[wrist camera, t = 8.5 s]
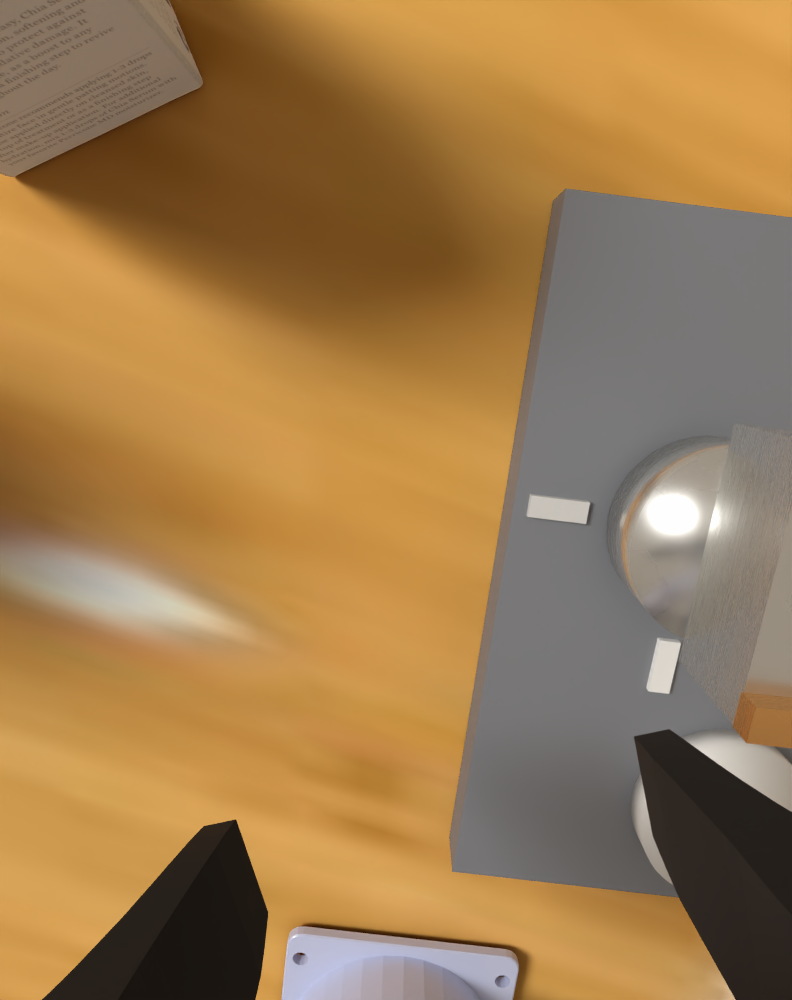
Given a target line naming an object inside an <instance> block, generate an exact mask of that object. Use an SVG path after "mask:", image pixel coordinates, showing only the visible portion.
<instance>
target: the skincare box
mask: <svg viewBox="0 0 792 1000" xmlns="http://www.w3.org/2000/svg"><path fill="white" fill-rule="evenodd" d="M202 85H203V80H202V77H201V75H200V73H199V70H198V68H197V66H196V63H195V61H194V59H193V56H192V54H191V52H190V49H189V47H188V44H187V42H186V39H185V37H184V34H183V32H182V30H181V27H180V25H179V22H178V20H177V17H176V15H175V12H174V10H173V8H172V6H171V3H170V1H169V0H0V173H1V174H3V175H5V176H10V177H15V176H17V175H19V174H21V173H23V172H25V171H27V170H29V169H31V168H33V167H35V166H37V165H39V164H41V163H43V162H46V161H48V160H50V159H52V158H54V157H56V156H58V155H60V154H62V153H64V152H66V151H68V150H70V149H73V148H75V147H77V146H79V145H81V144H83V143H85V142H87V141H89V140H91V139H93V138H96V137H98V136H100V135H102V134H104V133H106V132H108V131H110V130H112V129H114V128H116V127H118V126H120V125H122V124H124V123H126V122H128V121H131V120H133V119H135V118H137V117H139V116H141V115H143V114H145V113H147V112H149V111H151V110H153V109H156V108H158V107H160V106H162V105H164V104H166V103H168V102H170V101H172V100H174V99H176V98H178V97H181V96H183V95H185V94H187V93H189V92H191V91H194V90H196V89H198V88H200V87H201V86H202Z"/></svg>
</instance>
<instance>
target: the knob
mask: <svg viewBox="0 0 792 1000" xmlns="http://www.w3.org/2000/svg"><path fill="white" fill-rule="evenodd" d="M606 544H607V551H608V554H609V558H610V561H611V564H612V566H613V568H614V570H615V572H616V574H617V575H618V577H619V578H620V580H621V582H622V583H623V584H624V585H625V586H626V587H627V588H628V590H629V591H630V592H631V593H632V594H633V595H634V596H635V598H636V599H637V600H638V601H639V602H640V603H641V604H642V605H643V607H644V608H645V609H646V610H647V611H648V612H649V613H650V614H651V616H652V617H653V618H654V619H655V620H656V621H657V622H659V623H660V624H661V625H662V626H663V627H665V628H666V629H668V630H669V631H671V632H672V633H674V634H676V635H678V636H680V637H682V638H684V639H683V643H682V648H681V652H680V656H679V661H680V663H681V664H682V665H683V666H684V667H685V668H686V670H687V671H688V672H689V673H690V674H691V676H692V677H693V678H694V679H695V680H696V681H697V683H698V684H699V685H700V686H701V687H702V689H703V690H704V691H705V692H706V693H707V695H708V696H709V697H710V698H711V699H712V700H713V702H714V703H715V704H716V705H717V706H718V708H719V709H720V710H721V711H722V712H723V713H724V715H725V716H726V717H727V718H728V719H729V721H730V722H731V723H732V724H733V726H732V727H733V728H734V729H735V730H736V731H737V733H738V734H739V735H740V736H741V737H742V738H743V740H744V741H745V742H746V743H749V744H758V745H766V746H775V747H784V748H792V430H786V429H778V428H770V427H761V426H753V425H745V424H737V423H734V426H733V430H732V435H731V438H727V437H722V436H708V435H707V436H695V437H690V438H685V439H681V440H678V441H675V442H672V443H669V444H667V445H665V446H663V447H661V448H659V449H657V450H656V451H654V452H652V453H651V454H649V455H648V456H647V457H645V458H644V459H643V460H642V461H640V462H639V463H638V464H637V465H636V466H635V467H634V468H633V469H632V470H631V471H630V472H629V473H628V475H627V476H626V477H625V479H624V480H623V481H622V483H621V484H620V486H619V488H618V490H617V491H616V493H615V495H614V498H613V500H612V503H611V505H610V509H609V513H608V516H607V524H606Z"/></svg>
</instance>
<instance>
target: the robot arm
mask: <svg viewBox="0 0 792 1000" xmlns="http://www.w3.org/2000/svg"><path fill="white" fill-rule="evenodd" d="M634 741H635V746H636V751H637V756H638V762H639V767H640V772H641V777H642V783H643V788H644V793H645V798H646V804H647V809H648V814H649V819H650V825H651V830H652V835H653V838H654V841H655V843H656V845H657V848H658V850H659V853H660V855H661V857H662V860H663V862H664V865H665V867H666V869H667V872H668V874H669V876H670V879H671V881H672V883H673V886H674V888H675V890H676V892H677V895H678V897H679V898H680V900H681V902H682V904H683V906H684V908H685V909H686V911H687V913H688V915H689V917H690V918H691V920H692V922H693V924H694V926H695V928H696V929H697V931H698V933H699V935H700V937H701V938H702V940H703V942H704V944H705V946H706V947H707V949H708V951H709V953H710V954H711V956H712V958H713V960H714V962H715V963H716V965H717V967H718V969H719V971H720V972H721V974H722V976H723V978H724V979H725V981H726V983H727V985H728V987H729V988H730V990H731V992H732V994H733V996H734V997H735V999H736V1000H792V812H791V811H789V810H788V809H786V808H784V807H783V806H781V805H779V804H778V803H776V802H775V801H773V800H771V799H770V798H768V797H767V796H765V795H764V794H762V793H761V792H759V791H758V790H756V789H755V788H753V787H751V786H750V785H748V784H747V783H745V782H744V781H742V780H741V779H739V778H738V777H736V776H735V775H733V774H732V773H730V772H729V771H728V770H726V769H725V768H723V767H722V766H720V765H719V764H718V763H716V762H715V761H713V760H712V759H710V758H709V757H708V756H706V755H705V754H704V753H702V752H701V751H699V750H698V749H697V748H695V747H694V746H692V745H691V744H690V743H688V742H687V741H686V740H684V739H683V738H681V737H680V736H679V735H677V734H676V733H674V732H673V731H671V730H670V729H667V730H662V731H657V732H653V733H648V734H643V735H638V736H634ZM267 919H268V911H267V908H266V905H265V902H264V899H263V896H262V894H261V891H260V888H259V885H258V882H257V879H256V876H255V873H254V870H253V867H252V865H251V862H250V859H249V856H248V853H247V850H246V847H245V844H244V841H243V838H242V836H241V833H240V830H239V827H238V824H237V821H236V820H232V821H227V822H222V823H217V824H212V825H208V826H204V827H203V828H202V829H201V830H200V831H199V832H198V833H197V834H196V835H195V836H194V837H193V838H192V839H191V840H190V841H189V842H188V844H187V845H186V846H185V847H184V848H183V849H182V850H181V851H180V853H179V854H178V855H177V856H176V857H175V858H174V859H173V861H172V862H171V863H170V864H169V865H168V866H167V867H166V869H165V870H164V871H163V872H162V873H161V874H160V876H159V877H158V878H157V879H156V880H155V881H154V882H153V884H152V885H151V886H150V887H149V888H148V889H147V890H146V891H145V893H144V894H143V895H142V896H141V897H140V898H139V899H138V900H137V902H136V903H135V904H134V905H133V906H132V907H131V908H130V910H129V911H128V912H127V913H126V914H125V915H124V916H123V917H122V919H121V920H120V921H119V922H118V923H117V924H116V925H115V926H114V927H113V928H112V929H111V930H110V931H109V932H108V933H107V934H106V935H105V937H104V938H103V939H102V940H101V941H100V942H99V943H98V944H97V945H96V946H95V947H94V948H93V949H92V950H91V951H90V952H89V953H88V954H87V956H86V957H85V958H84V959H83V960H82V961H81V962H80V963H79V964H78V965H77V966H76V967H75V968H74V969H73V970H72V971H71V972H70V973H69V974H68V975H67V976H66V977H65V978H64V979H63V980H62V981H61V982H60V983H59V984H58V985H57V986H56V987H55V988H54V989H53V990H52V991H51V992H50V993H49V994H48V995H47V996H45V997H44V998H43V999H42V1000H255V998H256V994H257V990H258V985H259V981H260V976H261V970H262V962H263V955H264V947H265V938H266V928H267ZM297 953H304V954H305V955H300V954H297ZM518 972H519V964H518V959H517V956H516V955H515V953H513V952H512V951H511V950H507V949H501V948H492V947H483V946H474V945H465V944H456V943H448V942H439V941H430V940H421V939H412V938H403V937H394V936H386V935H377V934H368V933H359V932H350V931H341V930H332V929H324V928H315V927H306V926H301V927H297V928H294V929H293V930H292V931H291V932H290V934H289V938H288V943H287V951H286V961H285V971H284V980H283V990H282V1000H513V997H514V992H515V987H516V982H517V977H518ZM502 975H504V977H498V976H502Z"/></svg>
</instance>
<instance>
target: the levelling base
mask: <svg viewBox="0 0 792 1000" xmlns="http://www.w3.org/2000/svg"><path fill="white" fill-rule="evenodd" d="M734 423H737V424H745V425H753V426H761V427H770V428H778V429H786V430H792V218H791V217H783V216H776V215H768V214H760V213H752V212H744V211H736V210H729V209H721V208H713V207H705V206H697V205H689V204H682V203H674V202H666V201H658V200H650V199H643V198H635V197H627V196H619V195H611V194H603V193H596V192H588V191H580V190H572V189H565V190H564V191H563V192H562V193H561V194H560V195H559V196H558V197H557V198H556V199H554V200H553V205H552V211H551V217H550V223H549V229H548V235H547V241H546V248H545V254H544V260H543V266H542V272H541V278H540V284H539V291H538V297H537V303H536V309H535V315H534V321H533V327H532V333H531V340H530V346H529V352H528V358H527V364H526V370H525V376H524V383H523V389H522V395H521V401H520V407H519V413H518V419H517V426H516V432H515V438H514V444H513V450H512V456H511V462H510V469H509V475H508V481H507V487H506V493H505V499H504V505H503V512H502V518H501V524H500V530H499V536H498V542H497V548H496V555H495V561H494V567H493V573H492V579H491V585H490V591H489V598H488V604H487V610H486V616H485V622H484V628H483V634H482V641H481V647H480V653H479V659H478V665H477V671H476V677H475V684H474V690H473V696H472V702H471V708H470V714H469V720H468V727H467V733H466V739H465V745H464V751H463V757H462V763H461V770H460V776H459V782H458V788H457V794H456V800H455V806H454V813H453V819H452V825H451V831H450V837H449V838H450V849H451V861H452V872H461V873H470V874H479V875H487V876H496V877H505V878H514V879H522V880H531V881H540V882H549V883H557V884H566V885H575V886H584V887H592V888H601V889H610V890H619V891H627V892H636V893H645V894H654V895H662V896H671V897H678V895H677V892H676V890H675V888H674V886H673V883H672V881H671V879H670V876H669V874H668V872H667V869H666V867H665V865H664V862H663V860H662V857H661V855H660V853H659V850H658V848H657V845H656V843H655V841H654V838H653V835H652V830H651V825H650V819H649V814H648V809H647V804H646V798H645V793H644V788H643V783H642V777H641V772H640V767H639V762H638V756H637V751H636V746H635V741H634V736H638V735H643V734H648V733H653V732H657V731H662V730H667V729H670V730H671V731H673V732H674V733H676V734H677V735H679V736H680V737H681V738H683V739H684V740H686V741H687V742H688V743H690V744H691V745H692V746H694V747H695V748H697V749H698V750H699V751H701V752H702V753H704V754H705V755H706V756H708V757H709V758H710V759H712V760H713V761H715V762H716V763H718V764H719V765H720V766H722V767H723V768H725V769H726V770H728V771H729V772H730V773H732V774H733V775H735V776H736V777H738V778H739V779H741V780H742V781H744V782H745V783H747V784H748V785H750V786H751V787H753V788H755V789H756V790H758V791H759V792H761V793H762V794H764V795H765V796H767V797H768V798H770V799H771V800H773V801H775V802H776V803H778V804H779V805H781V806H783V807H784V808H786V809H788V810H789V811H791V812H792V748H784V747H775V746H766V745H758V744H749V743H746V742H745V741H744V740H743V738H742V737H741V736H740V735H739V734H738V733H737V731H736V730H735V729H734V728H733V727H732V726H733V724H732V723H731V722H730V721H729V719H728V718H727V717H726V716H725V715H724V713H723V712H722V711H721V710H720V709H719V708H718V706H717V705H716V704H715V703H714V702H713V700H712V699H711V698H710V697H709V696H708V695H707V693H706V692H705V691H704V690H703V689H702V687H701V686H700V685H699V684H698V683H697V681H696V680H695V679H694V678H693V677H692V676H691V674H690V673H689V672H688V671H687V670H686V668H685V667H684V666H683V665H682V664H681V663H680V661H679V656H680V652H681V648H682V643H683V639H684V638H682V637H680V636H678V635H676V634H674V633H672V632H671V631H669V630H668V629H666V628H665V627H663V626H662V625H661V624H660V623H659V622H657V621H656V620H655V619H654V618H653V617H652V616H651V614H650V613H649V612H648V611H647V610H646V609H645V608H644V607H643V605H642V604H641V603H640V602H639V601H638V600H637V599H636V598H635V596H634V595H633V594H632V593H631V592H630V591H629V590H628V588H627V587H626V586H625V585H624V584H623V583H622V582H621V580H620V578H619V577H618V575H617V574H616V572H615V570H614V568H613V566H612V564H611V561H610V558H609V554H608V551H607V544H606V524H607V516H608V513H609V509H610V505H611V503H612V500H613V498H614V495H615V493H616V491H617V490H618V488H619V486H620V484H621V483H622V481H623V480H624V479H625V477H626V476H627V475H628V473H629V472H630V471H631V470H632V469H633V468H634V467H635V466H636V465H637V464H638V463H639V462H640V461H642V460H643V459H644V458H645V457H647V456H648V455H649V454H651V453H652V452H654V451H656V450H657V449H659V448H661V447H663V446H665V445H667V444H669V443H672V442H675V441H678V440H681V439H685V438H690V437H695V436H707V435H708V436H722V437H727V438H731V435H732V430H733V426H734Z"/></svg>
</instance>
